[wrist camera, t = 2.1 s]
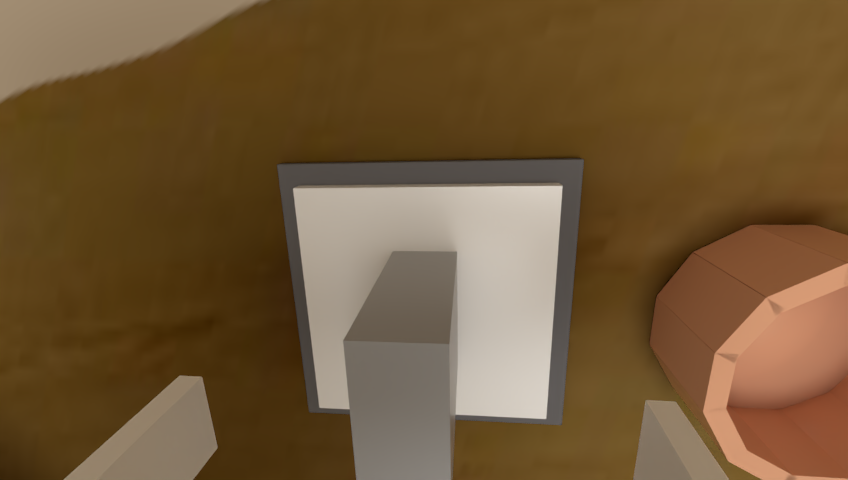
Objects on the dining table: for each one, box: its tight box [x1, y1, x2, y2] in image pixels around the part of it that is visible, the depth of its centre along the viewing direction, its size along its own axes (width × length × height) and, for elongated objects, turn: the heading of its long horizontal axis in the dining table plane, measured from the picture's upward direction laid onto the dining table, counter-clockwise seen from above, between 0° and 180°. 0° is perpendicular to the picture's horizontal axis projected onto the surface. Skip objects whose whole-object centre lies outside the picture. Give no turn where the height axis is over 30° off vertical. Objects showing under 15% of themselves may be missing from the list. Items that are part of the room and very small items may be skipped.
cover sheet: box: [293, 183, 563, 480], centre depth 17 cm, size 12×12×9 cm
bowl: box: [649, 225, 848, 480], centre depth 17 cm, size 10×10×5 cm
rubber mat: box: [277, 158, 584, 425], centre depth 21 cm, size 14×14×1 cm
